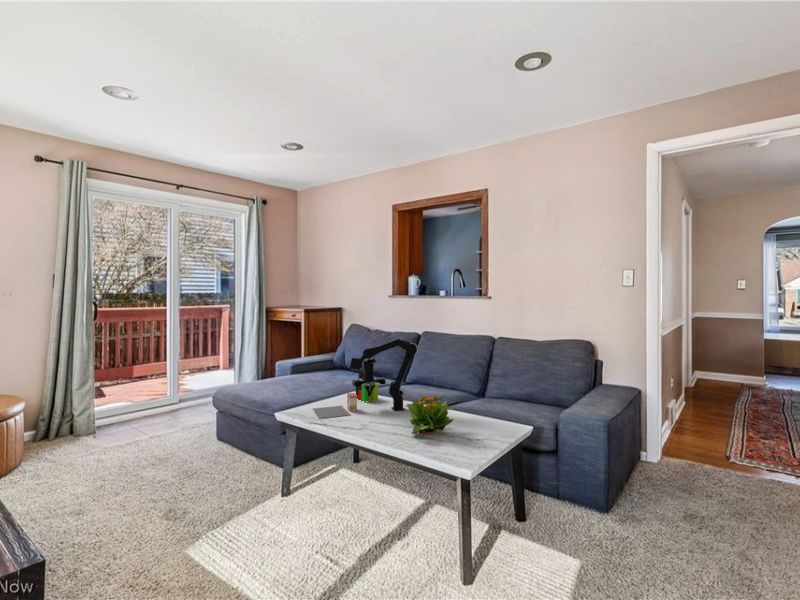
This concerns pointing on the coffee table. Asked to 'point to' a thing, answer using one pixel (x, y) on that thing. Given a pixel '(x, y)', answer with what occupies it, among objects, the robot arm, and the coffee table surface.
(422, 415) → the potted flower
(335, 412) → the mat
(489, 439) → the coffee table surface
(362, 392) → the puzzle toy
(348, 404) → the maple block
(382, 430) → the coffee table surface
